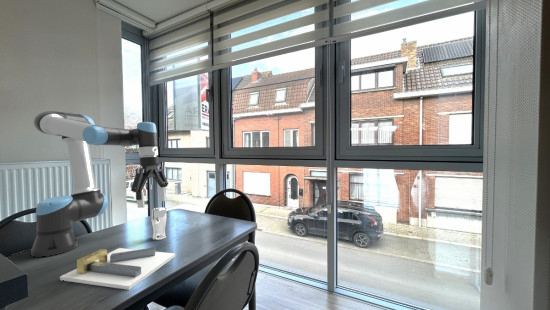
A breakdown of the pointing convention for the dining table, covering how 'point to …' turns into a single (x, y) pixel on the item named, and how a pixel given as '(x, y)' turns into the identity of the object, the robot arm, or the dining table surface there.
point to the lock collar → (91, 260)
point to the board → (119, 281)
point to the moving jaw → (132, 254)
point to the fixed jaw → (114, 269)
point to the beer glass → (159, 223)
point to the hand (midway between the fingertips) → (152, 204)
